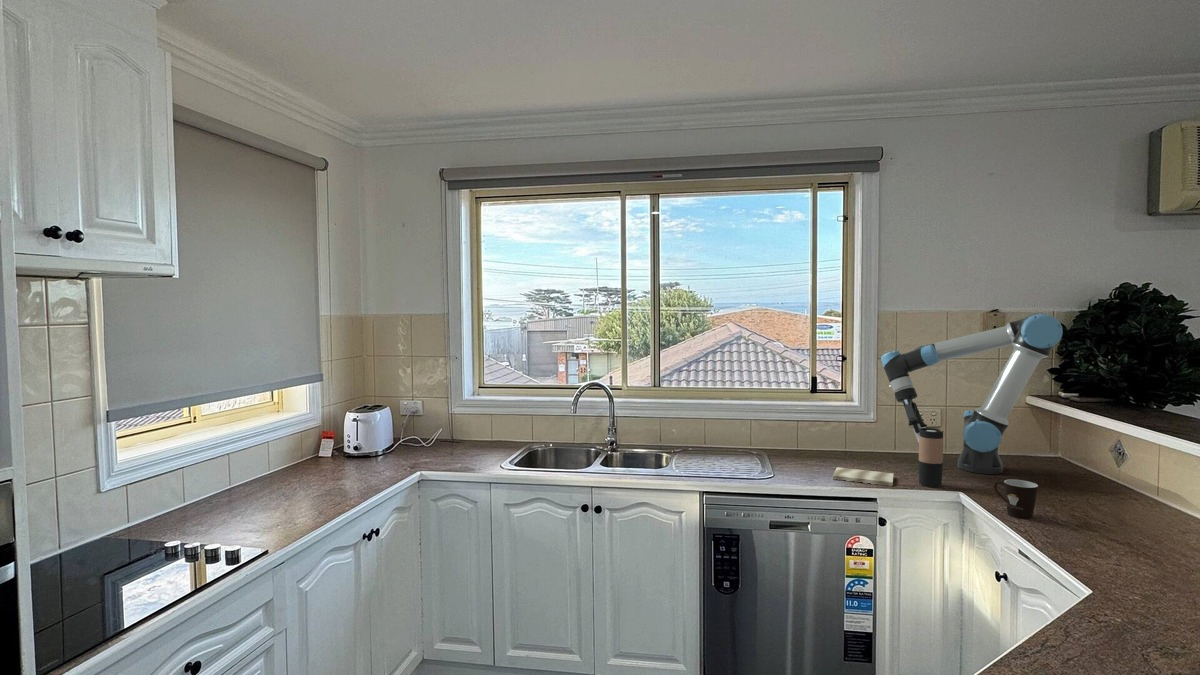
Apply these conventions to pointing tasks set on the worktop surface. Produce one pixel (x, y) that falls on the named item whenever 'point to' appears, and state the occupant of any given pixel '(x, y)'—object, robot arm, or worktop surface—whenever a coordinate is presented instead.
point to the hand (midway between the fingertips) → (925, 443)
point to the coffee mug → (1019, 498)
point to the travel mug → (930, 457)
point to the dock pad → (864, 476)
